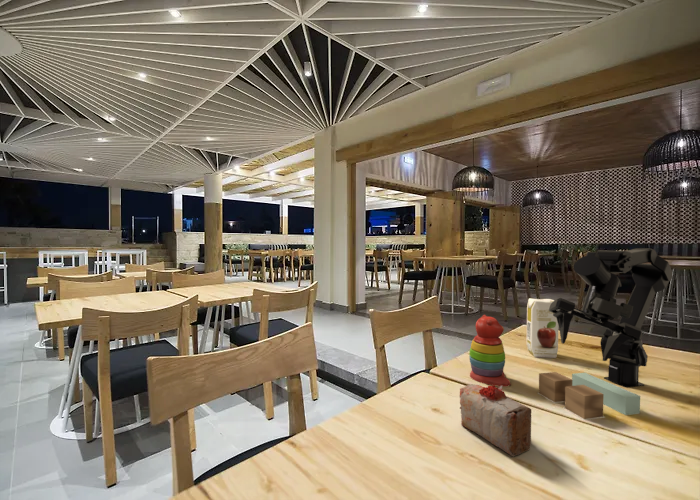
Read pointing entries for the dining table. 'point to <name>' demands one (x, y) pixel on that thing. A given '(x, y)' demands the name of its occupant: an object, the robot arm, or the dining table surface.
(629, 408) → the beam
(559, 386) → the pillar
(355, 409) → the dining table surface
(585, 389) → the pillar
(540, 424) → the dining table surface
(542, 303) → the juice carton
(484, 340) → the stacking bear
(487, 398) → the food item
